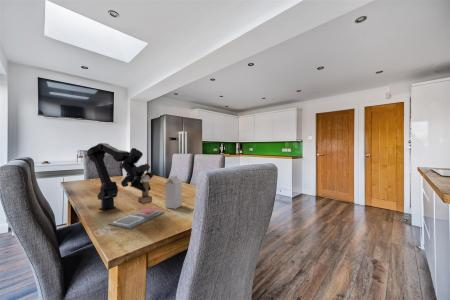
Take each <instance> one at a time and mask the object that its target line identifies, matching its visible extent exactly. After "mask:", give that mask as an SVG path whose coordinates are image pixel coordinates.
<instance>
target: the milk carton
mask: <svg viewBox="0 0 450 300" xmlns="http://www.w3.org/2000/svg"><path fill="white" fill-rule="evenodd" d="M182 187H183V182H182V181H181V179H180V178H179V177H178V175H173V176H170V177H169V179H168V180H166V182H165V189H164V190H165V191H164V192H165V196H164V197H165V202H164V204H165V208H166V209H174V210H176V209H178V208H181V207H182V205H183V204H182V203H183V200H182V199H183V198H182V197H183V195H182V193H183V192H182V190H183V188H182Z"/></svg>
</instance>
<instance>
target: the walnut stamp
mask: <svg viewBox="0 0 450 300" xmlns="http://www.w3.org/2000/svg"><path fill="white" fill-rule="evenodd" d="M150 180H151V179H150V177H149V176H148V175H145V174H143V176H142V177H141V181H142V185H143V186H144V188H145V190H146V191H145V192H143V191H141V196H138V201H137V202H138V203H139V204H141V205H145V204H146V205H147V204H150V203H153V196H152V195H150V193H149V191H150V190H149V185H150Z"/></svg>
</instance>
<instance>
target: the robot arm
mask: <svg viewBox="0 0 450 300" xmlns="http://www.w3.org/2000/svg"><path fill="white" fill-rule="evenodd" d="M105 154H108V155H110V156H111V157H112V158H113V159H112V160H114V161H116V162H117V163H120V165H119V170H121V169H124V171H125V172H126V174H125V177H124V178H123V179H122V180H121V183H120V184H121V186H122V187H123V188H125V187H127V188H128V186H130V188H135V189H137V190H139V191H141V192H142V191H143V192H145V191H146V190H145V188H144V186H143V185H142V181H141V177H142V176H143V175H148V176H149V177H150V180H151V179H152V178H153V177H154V175H155V173H154V172H153V171H149V170H150V169H151V166H150V164H148V163H145V164H141V165H138V166H136V164H138V163H139V161H140V159H142V157H143V155H144V154H143V152H142V151H140V150H139V149H137V148H135V147H132V148H131V149H130V151H128V150H121V149H117V148H116V147H114V146H111V145H110V144H109V143H105V142H103V143H102V142H99V143H98V144H96V145H95V146H94V145H93V146H92V147H90V148H88V150H87V151H86V155H87V157H88V159H89V161H92V162H93V163H94V166H95V168H96V172H97V174H98V177H99V181H100V183H101V185H100V188H99V190H100V191H99V193H98V194H97V197H96V198H97V199H98V200H100V203H101V204H100V205H101V207H98V210H103V211H109V210H111V209H115V208H117V206H115V199H114V198H116V197H117V195H118V192H119V189H118V185H117V182H116V181H112V180H111V176H110V174H109V172H108V169H107V166H106V164H105V161H104V159H105V157H106V155H105ZM147 171H149V172H147ZM145 172H146V173H145ZM129 183H130V184H129ZM149 191H151V185H150V184H149Z"/></svg>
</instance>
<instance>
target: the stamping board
mask: <svg viewBox="0 0 450 300" xmlns="http://www.w3.org/2000/svg"><path fill="white" fill-rule="evenodd" d="M163 214H165V211H163V210H159V209H152V208H143V209H140V210H138V211H136V212H133V213H131V214H128V215H125V216H122V217H121V218H118V219H115V220H113V221H111V222H107V225H108V226H112V227H118V228H122V229H127V230H132V229H134V228H137V226H141V225H142V224H144V223H146V222H148V221H151V220H152V219H155V218H156V217H158V216H161V215H163Z"/></svg>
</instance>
